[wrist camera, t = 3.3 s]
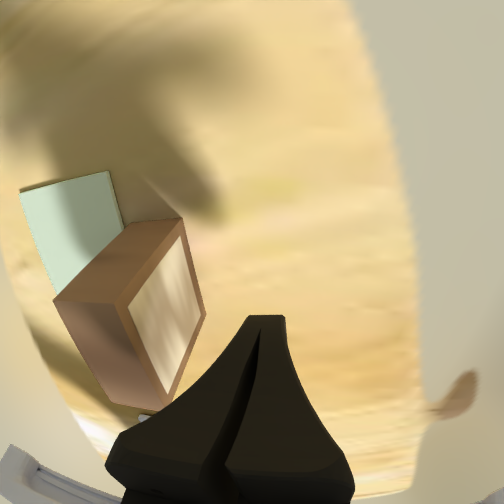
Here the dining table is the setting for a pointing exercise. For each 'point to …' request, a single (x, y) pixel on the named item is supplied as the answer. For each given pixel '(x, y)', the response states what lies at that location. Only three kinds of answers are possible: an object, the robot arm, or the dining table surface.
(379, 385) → the dining table surface
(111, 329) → the walnut frame
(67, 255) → the sage mat
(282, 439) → the robot arm
